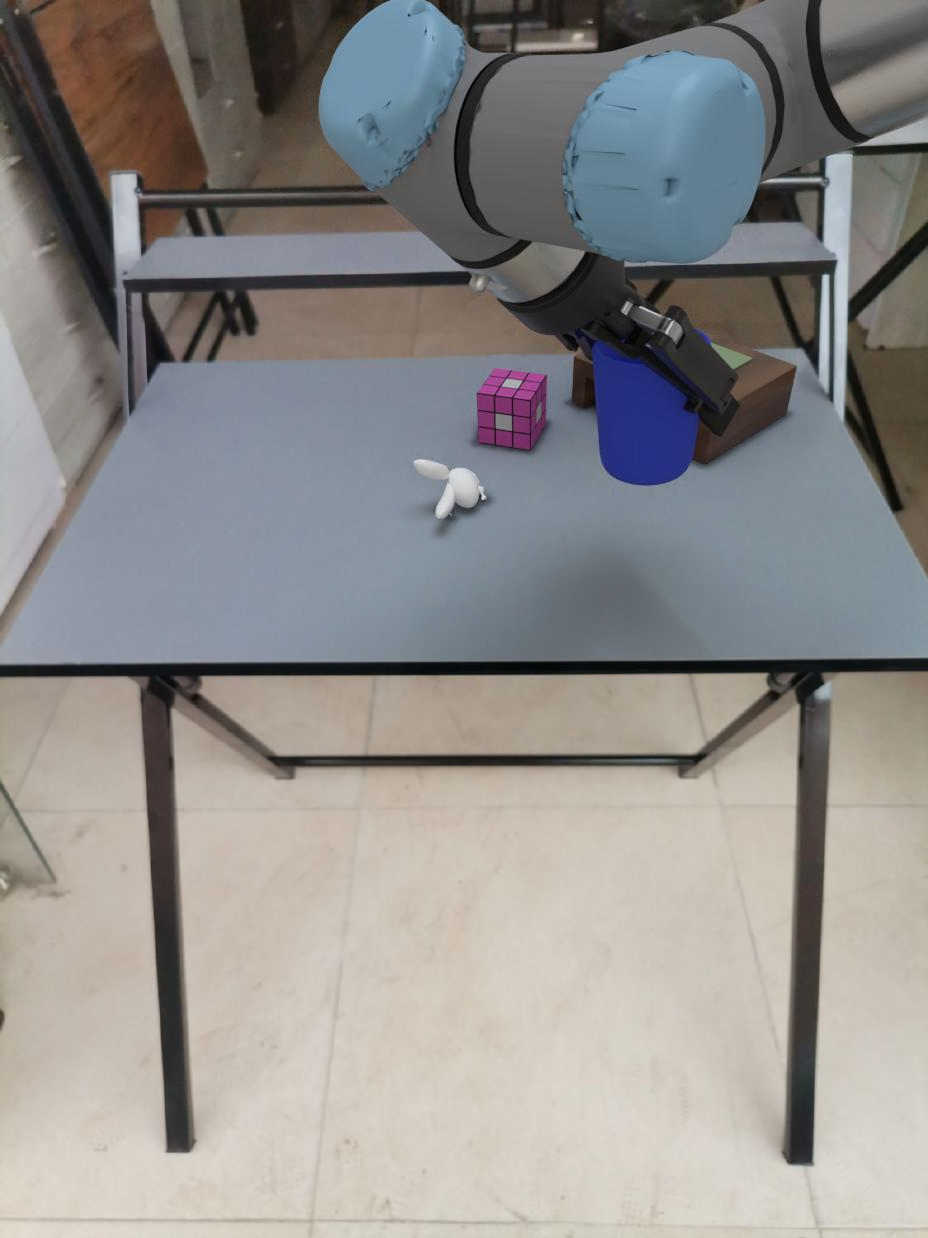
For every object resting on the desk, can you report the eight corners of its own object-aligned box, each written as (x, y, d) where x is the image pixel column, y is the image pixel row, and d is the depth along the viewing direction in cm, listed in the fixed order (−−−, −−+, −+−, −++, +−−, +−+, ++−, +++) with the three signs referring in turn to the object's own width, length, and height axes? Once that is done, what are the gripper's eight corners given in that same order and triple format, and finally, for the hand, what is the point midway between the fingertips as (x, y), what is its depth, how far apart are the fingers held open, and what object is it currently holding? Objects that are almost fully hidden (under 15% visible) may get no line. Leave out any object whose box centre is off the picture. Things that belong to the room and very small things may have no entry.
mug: (722, 429, 75) (734, 306, 68) (685, 503, 66) (696, 371, 60) (623, 418, 78) (626, 299, 71) (576, 487, 69) (576, 359, 63)
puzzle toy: (478, 442, 96) (476, 392, 92) (495, 416, 100) (494, 367, 96) (530, 450, 94) (530, 400, 90) (546, 423, 98) (547, 374, 94)
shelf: (787, 413, 98) (797, 363, 94) (705, 464, 91) (713, 413, 87) (654, 360, 108) (658, 313, 104) (571, 402, 101) (573, 354, 97)
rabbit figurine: (505, 508, 87) (447, 509, 81) (478, 529, 89) (420, 531, 83) (480, 454, 88) (422, 451, 82) (454, 476, 91) (396, 474, 85)
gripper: (400, 263, 59) (568, 403, 78) (638, 358, 48) (769, 495, 66) (457, 155, 58) (614, 322, 77) (715, 224, 47) (826, 401, 65)
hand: (686, 402), depth 71 cm, fingers closed on mug, 7 cm apart
